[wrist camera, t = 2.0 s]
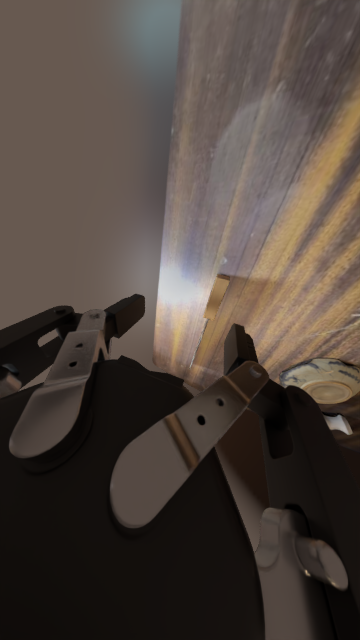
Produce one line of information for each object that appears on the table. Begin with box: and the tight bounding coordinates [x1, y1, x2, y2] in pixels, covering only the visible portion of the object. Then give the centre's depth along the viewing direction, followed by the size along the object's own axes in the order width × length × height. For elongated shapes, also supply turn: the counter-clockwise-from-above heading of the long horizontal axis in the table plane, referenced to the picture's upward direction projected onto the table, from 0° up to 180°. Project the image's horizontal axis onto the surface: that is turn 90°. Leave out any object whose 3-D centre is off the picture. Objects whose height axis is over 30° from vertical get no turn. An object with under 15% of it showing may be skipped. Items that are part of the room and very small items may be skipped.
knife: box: [189, 274, 230, 369], centre depth 32 cm, size 29×2×3 cm, turn 170°
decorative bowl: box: [280, 358, 360, 404], centre depth 30 cm, size 15×4×15 cm
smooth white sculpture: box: [322, 413, 352, 435], centre depth 36 cm, size 4×8×5 cm
